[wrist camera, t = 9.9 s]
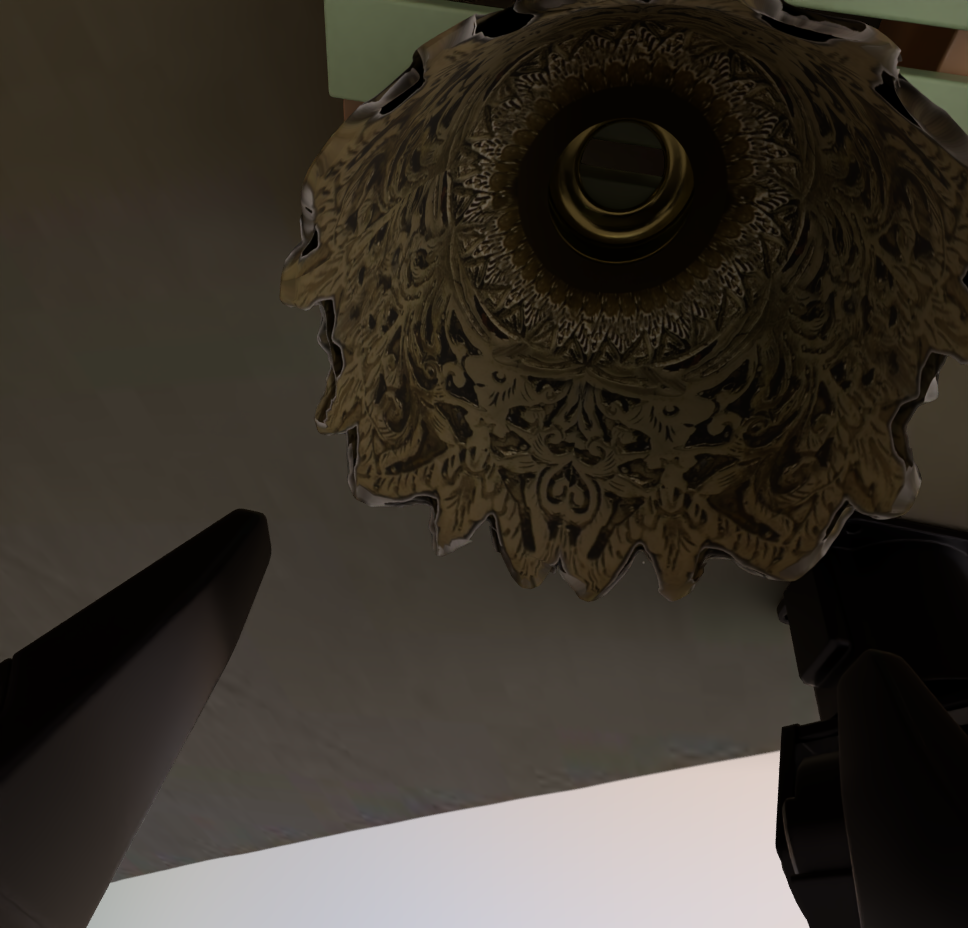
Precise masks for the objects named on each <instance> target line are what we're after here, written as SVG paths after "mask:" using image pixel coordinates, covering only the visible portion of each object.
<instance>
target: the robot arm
mask: <svg viewBox="0 0 968 928" xmlns="http://www.w3.org/2000/svg"><path fill="white" fill-rule="evenodd" d="M870 516H871V515H869V516H867V515H864V514H862V513H860V512H858V511H854V512H853V514H851V516H850V517H849V518H848V519H847V520H846V522H845V524H844V526H843V528H842V529H841V531H840V533H839V535H838V536H837V538H836V539H835V540H834V541H833V543H832V545H831V546H830V547H829V549H828V551H827V552H826V554H825V555H824V556H823V557H822V558H821V559H820V560H819V561H818V562H817V563H816V564H815V565H814V566H813V567H812V568H811V569H810V570H809V571H808V572H807V573H806V574H804V575H803V576H802V577H801V578H799V579H797V580H796V581H791V583H790V584H789V586H788V587H787V589H786V590H785V592H784V598H783V599H782V601H781V602H780V604H779V605H778V607H777V614H778V618H779V620H780V621H781V622H782V623H785V624H789V626H790V631H791V636H792V641H793V646H794V652H795V657H796V662H797V667H798V672H799V677H800V678H801V680H802V681H803V683H804V684H806V685H810V686H814V691H815V696H816V701H817V705H818V710H819V715H820V720H821V721H818V722H813V723H809V724H805V725H801V726H800V725H799V724H793V725H789V726H785V727H782V734H781V751H780V766H779V787H778V804H777V823H776V850H777V853H778V856H779V858H780V860H781V863H782V868H783V871H784V874H785V876H786V878H787V881H788V884H789V887H790V889H791V891H792V894H793V895H794V898H795V900H796V902H797V904H798V906H799V908H800V910H801V911H802V913H803V915H804V916H805V918H806V919H807V921H808V924H809V927H810V928H968V533H967V532H962V531H956V530H951V529H946V528H941V527H936V526H931V525H925V524H920V523H915V522H910V521H905V520H899V519H894V518H890V519H875V518H872V517H870ZM851 524H855V525H852V526H848V525H851ZM270 557H271V542H270V536H269V530H268V524H267V519H266V517H265V515H264V514H263V513H260V512H256V511H251V510H247V509H236V510H234V511H232V512H231V513H229V514H228V515H226V516H225V517H223V518H222V519H220V520H218V521H217V522H215V523H214V524H212V525H211V526H209V527H208V528H206V529H205V530H203V531H202V532H200V533H199V534H197V535H196V536H194V537H192V538H191V539H189V540H188V541H186V542H185V543H183V544H182V545H180V546H179V547H177V548H176V549H174V550H173V551H171V552H170V553H168V554H167V555H165V556H163V557H162V558H160V559H159V560H157V561H156V562H154V563H153V564H151V565H150V566H148V567H147V568H145V569H144V570H142V571H141V572H139V573H137V574H136V575H134V576H133V577H131V578H130V579H128V580H127V581H125V582H124V583H122V584H121V585H119V586H118V587H116V588H115V589H113V590H112V591H110V592H108V593H107V594H105V595H104V596H102V597H101V598H99V599H98V600H96V601H95V602H93V603H92V604H90V605H89V606H87V607H86V608H84V609H82V610H81V611H79V612H78V613H76V614H75V615H73V616H72V617H70V618H69V619H67V620H66V621H64V622H63V623H61V624H60V625H58V626H57V627H55V628H53V629H52V630H50V631H49V632H47V633H46V634H44V635H43V636H41V637H40V638H38V639H37V640H35V641H34V642H32V643H31V644H29V645H27V646H26V647H24V648H23V649H21V650H20V651H18V652H17V653H15V654H14V655H13V658H12V659H11V658H8V659H6V660H4V661H3V662H1V663H0V928H86V927H87V925H88V923H89V921H90V920H91V918H92V916H93V914H94V912H95V910H96V908H97V906H98V905H99V903H100V901H101V899H102V897H103V895H104V893H105V892H106V890H107V888H108V886H109V884H110V882H111V880H112V878H113V877H114V875H115V873H116V871H117V869H118V867H119V865H120V863H121V862H122V860H123V858H124V856H125V854H126V852H127V850H128V848H129V847H130V845H131V843H132V841H133V839H134V837H135V835H136V833H137V832H138V830H139V828H140V826H141V824H142V822H143V820H144V818H145V817H146V815H147V813H148V811H149V809H150V807H151V805H152V804H153V802H154V800H155V798H156V796H157V794H158V792H159V790H160V789H161V787H162V785H163V783H164V781H165V779H166V777H167V775H168V774H169V772H170V770H171V768H172V766H173V764H174V762H175V760H176V759H177V757H178V755H179V753H180V751H181V749H182V747H183V745H184V744H185V742H186V740H187V738H188V736H189V734H190V732H191V730H192V729H193V727H194V725H195V723H196V721H197V719H198V717H199V716H200V714H201V712H202V710H203V708H204V706H205V704H206V702H207V701H208V699H209V697H210V695H211V693H212V691H213V689H214V687H215V686H216V684H217V682H218V680H219V678H220V676H221V674H222V672H223V671H224V669H225V667H226V665H227V663H228V661H229V659H230V657H231V655H232V653H233V651H234V649H235V646H236V644H237V642H238V639H239V637H240V634H241V632H242V629H243V627H244V624H245V622H246V619H247V617H248V614H249V612H250V609H251V607H252V604H253V602H254V599H255V597H256V594H257V592H258V589H259V586H260V584H261V581H262V579H263V576H264V574H265V571H266V569H267V566H268V564H269V561H270Z"/></svg>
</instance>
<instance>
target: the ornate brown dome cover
mask: <svg viewBox="0 0 968 928" xmlns="http://www.w3.org/2000/svg"><path fill="white" fill-rule="evenodd" d="M900 52H901V50H900V49H899V47H898V46H897V45H896V44H895V43H894V42H893V41H892V40H890V39H889V38H888V37H887V36H886V35H884V34H883V33H881V32H880V31H879V30H877V29H876V28H874V27H871V26H869V25H867V24H865V23H863V22H860V21H856V20H852V19H846V18H840V17H834V16H829V15H824V14H820V13H816V12H811V11H808V10H805V9H801V8H798V7H795V6H793V5H790V4H788V3H787V2H785V0H516V2H515V3H514V5H513V6H510V7H508V8H506V9H503V10H499V11H495V12H492V13H488V14H486V15H478V14H477V13H476V14H474V15H472V16H470V17H468V18H467V19H465V20H463V21H461V22H459V23H458V24H456V25H454V26H452V27H451V28H449V29H447V30H446V31H444V32H442V33H440V34H439V35H437V36H436V37H434V38H432V39H430V40H429V41H427V42H426V43H424V44H423V45H421V46H420V47H419V48H418V49H416V50H415V52H414V54H413V57H412V59H413V62H412V63H411V65H410V67H409V68H408V69H406V70H405V71H404V72H403V73H402V74H401V75H399V76H398V77H397V78H396V79H395V80H394V81H393V82H392V83H391V84H389V85H388V86H387V87H386V88H385V89H384V90H382V91H381V92H380V93H379V94H377V95H376V96H375V97H373V98H372V99H370V100H368V101H366V102H365V103H363V104H362V105H360V106H359V107H358V108H357V109H356V110H355V111H354V112H353V113H352V114H351V115H350V116H349V117H348V118H347V119H346V121H345V122H344V123H343V124H342V125H341V126H340V127H339V129H338V130H337V131H336V132H335V133H334V134H333V135H332V137H331V138H330V139H329V140H328V142H327V143H326V144H325V146H324V147H323V148H322V150H321V151H320V152H319V154H318V155H317V157H316V158H315V160H314V161H313V163H312V164H311V166H310V168H309V169H308V172H307V174H306V176H305V179H304V182H303V185H302V190H301V205H302V214H301V217H300V225H301V237H302V241H301V242H300V243H299V244H298V245H297V246H296V247H295V248H294V249H293V250H292V252H291V253H290V255H289V256H288V257H287V259H286V260H285V264H284V267H283V271H282V276H281V284H280V300H281V302H282V303H283V304H285V305H287V306H289V307H293V306H294V307H297V308H300V309H303V310H309V309H310V308H311V307H312V306H313V305H317V304H318V305H320V311H321V322H320V328H319V333H318V335H317V339H318V343H319V344H320V346H321V347H322V348H323V349H324V350H325V352H326V353H327V354H328V359H329V362H330V364H331V367H330V370H329V374H328V376H327V378H326V382H327V385H326V388H325V390H324V392H323V394H322V398H321V400H320V402H319V404H318V405H317V407H316V413H315V418H314V419H315V423H316V426H317V430H318V432H319V433H321V434H324V435H333V434H346V436H347V462H348V476H347V479H348V483H349V486H350V489H351V491H352V494H353V496H354V497H355V499H357V500H359V501H361V502H363V503H365V504H367V505H369V506H371V507H374V506H389V507H392V506H395V507H401V508H402V507H403V506H413V505H414V504H423V505H424V504H425V505H428V506H430V507H431V511H430V512H431V517H430V520H429V522H430V523H429V526H428V527H429V530H430V532H431V534H432V546H433V550H434V552H435V553H436V555H437V556H445V555H446V554H449V553H452V552H453V551H455V550H456V549H458V548H459V547H462V546H464V545H466V544H467V543H470V542H472V541H470V540H469V539H470V537H472V535H473V533H474V532H475V531H476V529H477V528H479V527H480V525H482V523H483V522H484V521H489V522H490V524H491V526H489V527H490V533H491V538H492V543H493V546H494V550H495V551H497V552H499V553H501V555H502V557H503V559H504V562H505V564H506V566H507V568H508V570H509V572H510V574H511V576H512V577H513V579H514V580H515V581H516V582H517V583H518V585H519V586H521V587H522V588H528V589H532V588H534V587H537V586H539V585H540V584H541V583H542V582H543V580H544V579H545V577H546V576H547V575H548V573H549V572H552V573H555V572H556V569H557V565H559V568H560V570H558V569H557V570H558V571H559V573H560V574H561V576H562V578H563V580H564V581H566V582H567V583H568V584H569V585H570V586H571V588H572V589H573V590H574V591H575V593H576V594H577V596H578V597H579V598H580V599H582V600H584V601H587V602H590V601H594V600H597V599H599V598H601V597H602V596H604V595H605V594H607V593H608V592H609V591H610V590H611V589H612V588H613V587H614V586H615V584H616V583H617V582H618V581H619V580H620V579H621V578H622V577H623V576H624V575H625V573H626V572H627V570H629V568H630V566H631V565H632V563H633V561H634V558H635V555H636V554H637V553H638V552H639V551H643V552H644V553H645V555H646V557H647V559H648V560H649V561H650V562H651V564H652V565H653V568H654V570H655V573H656V576H657V578H658V583H659V587H660V588H658V589H657V590H658V591H659V593H660V594H661V595H663V596H664V597H665V598H666V599H667V600H668V601H670V602H671V601H676V600H678V599H681V598H682V597H684V596H686V595H688V594H689V593H690V592H692V591H693V589H694V586H695V585H696V583H697V582H698V581H699V578H700V577H701V575H702V574H703V573H704V567H705V565H706V564H707V563H704V564H703V561H704V560H705V559H706V558H707V556H709V555H712V556H710V557H708V558H707V559H706V561H708V560H709V559H727V558H729V559H731V560H733V561H735V563H736V564H737V565H738V566H739V567H740V568H741V569H743V570H745V571H747V572H749V573H751V574H754V575H758V576H761V577H763V578H767V579H771V580H777V581H796V580H797V579H799V578H801V577H802V576H803V575H804V574H806V573H807V572H808V571H809V570H810V569H811V568H812V567H813V566H814V565H815V564H816V563H817V562H818V561H819V560H820V559H821V558H822V557H823V556H824V555H825V554H826V552H827V551H828V549H829V547H830V546H831V545H832V543H833V541H834V540H835V539H836V538H837V536H838V535H839V533H840V531H841V529H842V528H843V526H844V524H845V522H846V520H847V519H848V518H849V517H850V516H851V514H853V512H854V510H856V511H858V512H860V513H862V514H864V515H867V516H869V515H871V516H870V517H872V518H875V519H890V518H895V517H899V516H901V515H904V514H905V513H907V512H908V511H909V510H910V508H911V507H912V505H913V503H914V501H915V499H916V497H917V495H918V492H919V489H920V486H921V474H920V472H919V469H918V466H917V465H916V464H915V461H913V452H912V448H910V447H909V441H908V436H907V433H906V428H907V424H908V422H909V421H910V419H911V417H912V416H913V414H914V413H915V411H916V409H917V408H918V407H919V406H921V405H923V404H925V403H927V402H930V401H933V400H935V399H936V398H937V397H938V394H939V393H938V377H939V371H940V369H941V367H942V366H943V365H944V362H945V360H946V358H947V356H951V357H952V358H954V359H956V360H957V361H958V362H959V363H960V364H968V135H967V134H966V133H965V132H964V131H963V129H962V128H961V127H960V126H959V125H958V124H957V123H956V122H955V121H954V119H953V118H952V117H951V116H950V115H949V114H948V113H947V112H946V111H945V110H944V109H942V108H940V107H939V106H937V105H936V104H934V103H933V102H932V101H931V100H930V99H928V98H927V97H926V96H925V95H923V94H922V93H921V92H920V91H919V90H918V89H917V88H915V87H914V86H913V85H912V84H911V83H910V82H908V80H907V79H905V78H904V77H903V76H902V75H901V74H900V73H899V70H900V69H897V68H896V67H897V63H899V62H902V61H903V60H902V57H901V54H900ZM624 122H626V123H635V124H638V125H641V126H643V127H645V128H647V129H648V130H649V131H651V132H652V133H653V134H654V135H655V136H656V138H657V139H658V141H659V142H660V144H661V147H662V149H663V153H664V161H665V163H664V172H663V176H662V179H661V181H660V183H659V185H658V187H657V188H656V190H655V191H654V192H653V194H652V195H651V196H650V197H649V198H647V199H646V200H645V201H643V202H642V203H640V204H638V205H636V206H634V207H631V208H626V209H611V208H607V207H604V206H602V205H600V204H598V203H597V202H595V201H594V200H593V199H592V198H591V197H590V196H589V195H588V193H587V192H586V190H585V188H584V186H583V184H582V181H581V176H580V163H581V158H582V154H583V152H584V149H585V148H586V146H587V144H588V143H589V141H590V140H591V139H592V138H593V137H594V136H595V135H596V134H597V133H598V132H599V131H601V130H602V129H604V128H606V127H608V126H610V125H613V124H617V123H624ZM345 432H346V433H345ZM410 500H411V501H410ZM416 500H419V501H416ZM469 541H470V542H469ZM722 556H723V557H722ZM725 557H727V558H725ZM729 559H727V560H729ZM642 563H643V564H645V562H642ZM702 564H703V565H702Z"/></svg>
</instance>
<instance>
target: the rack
mask: <svg viewBox="0 0 968 928" xmlns="http://www.w3.org/2000/svg"><path fill="white" fill-rule="evenodd" d="M785 2H787V3H788V4H790V5H793V6H795V7H802V8H809V9H816V10H823V11H830V12H837V13H844V14H851V15H858V16H865V17H873V18H880V19H882V21H881V23H880V26H879V28H878V30H879V31H880V32H881V33H883V34H884V35H886V36H887V37H888V38H889V39H890V40H892V41H893V42H894V43H895V44H896V45H897V46H898V47H899V49H900V50H901V52H900V54H901V57H902V60H903V61H902V62H899V63H897V67H896V68H897V69H900V70H899V73H900V74H901V75H902V76H903V77H904V78H905V79H907V80H908V82H910V83H911V84H912V85H913V86H914V87H915V88H917V89H918V90H919V91H920V92H921V93H922V94H923V95H925V96H926V97H927V98H928V99H930V100H931V101H932V102H933V103H934V104H936V105H937V106H939V107H940V108H942V109H944V110H945V111H946V112H947V113H948V114H949V115H950V116H951V117H952V118H953V119H954V121H955V122H956V123H957V124H958V125H959V126H960V127H961V128H962V129H963V131H964V132H965V133H966V134H967V135H968V0H785ZM499 10H503V9H502V8H495V7H488V6H481V5H474V4H468V3H461V2H454V1H447V0H324V14H325V31H326V49H327V67H328V85H329V94H330V96H332V97H335V98H341V99H343V109H344V122H345V121H346V119H347V118H348V117H349V116H350V115H351V114H352V113H353V112H354V111H355V110H356V109H357V108H358V107H359V106H360V105H362V104H363V103H365V102H366V101H368V100H370V99H372V98H373V97H375V96H376V95H377V94H379V93H380V92H381V91H382V90H384V89H385V88H386V87H387V86H388V85H389V84H391V83H392V82H393V81H394V80H395V79H396V78H397V77H398V76H399V75H401V74H402V73H403V72H404V71H405V70H406V69H408V68H409V67H410V65H411V63H412V62H413V59H412V57H413V54H414V52H415V50H416V49H418V48H419V47H420V46H421V45H423V44H424V43H426V42H427V41H429V40H430V39H432V38H434V37H436V36H437V35H439V34H440V33H442V32H444V31H446V30H447V29H449V28H451V27H452V26H454V25H456V24H458V23H459V22H461V21H463V20H465V19H467V18H468V17H470V16H472V15H474V14H476V13H477V14H478V15H486V14H488V13H492V12H495V11H499ZM332 135H333V134H332ZM331 137H332V136H331ZM593 138H594V139H600V140H606V141H613V142H619V143H625V144H632V145H638V146H644V147H651V148H657V149H662V147H661V144H660V142H659V141H658V139H657V138H656V136H655V135H654V134H653V133H652V132H651V131H649V130H648V129H647V128H645V127H643V126H641V125H638V124H635V123H626V122H624V123H617V124H613V125H610V126H608V127H606V128H604V129H602V130H601V131H599V132H598V133H597V134H596V135H595V136H594V137H593ZM580 176H581V181H582V184H583V186H584V188H585V190H586V192H587V193H588V195H589V196H590V197H591V198H592V199H593V200H594V201H595V202H597V203H598V204H600V205H602V206H604V207H607V208H611V209H626V208H631V207H634V206H636V205H638V204H640V203H642V202H643V201H645V200H646V199H647V198H649V197H650V196H651V195H652V194H653V192H654V191H655V190H656V188H657V187H658V185H659V183H660V181H661V179H662V177H659V176H653V175H647V174H640V173H634V172H628V171H622V170H616V169H609V168H603V167H597V166H591V165H585V164H580Z"/></svg>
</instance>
